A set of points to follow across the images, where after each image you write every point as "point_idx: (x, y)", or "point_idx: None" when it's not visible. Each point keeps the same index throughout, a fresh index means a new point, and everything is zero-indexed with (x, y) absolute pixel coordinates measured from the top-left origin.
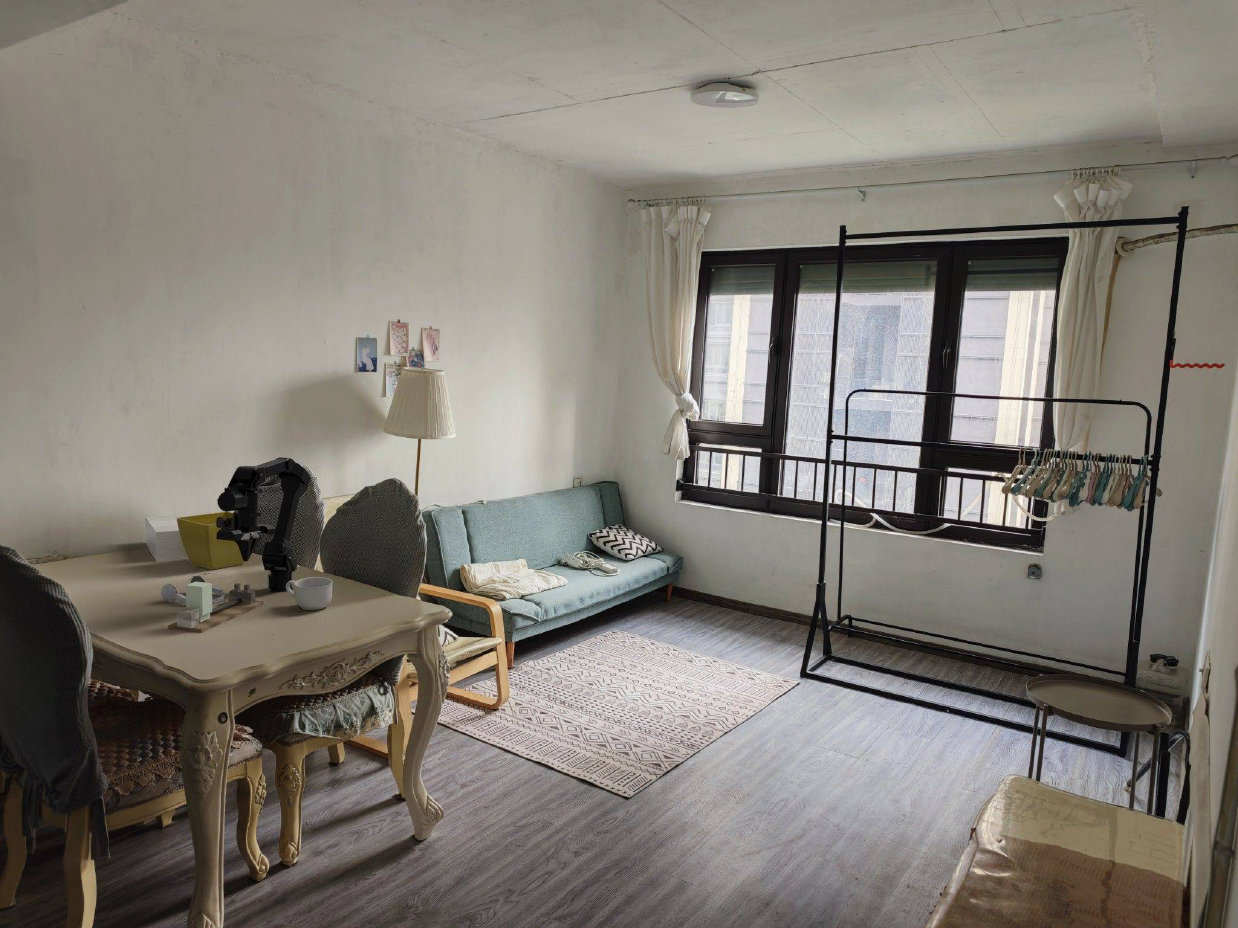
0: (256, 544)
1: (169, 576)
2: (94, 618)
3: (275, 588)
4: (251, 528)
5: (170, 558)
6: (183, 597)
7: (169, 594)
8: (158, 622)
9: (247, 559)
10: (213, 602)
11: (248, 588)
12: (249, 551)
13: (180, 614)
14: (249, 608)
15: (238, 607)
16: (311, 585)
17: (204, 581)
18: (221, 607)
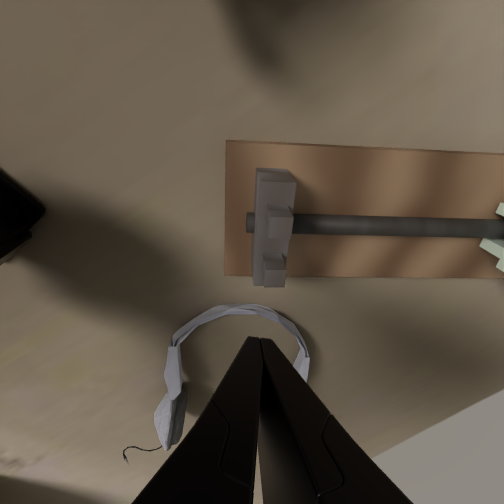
0: (184, 481)
1: (85, 492)
2: (425, 429)
3: (14, 210)
4: None
5: None
6: (304, 379)
7: None
8: (464, 324)
9: (264, 344)
10: (266, 309)
11: (281, 210)
12: (295, 403)
13: None
14: (331, 146)
15: (335, 192)
16: None
17: (171, 412)
18: (416, 221)
